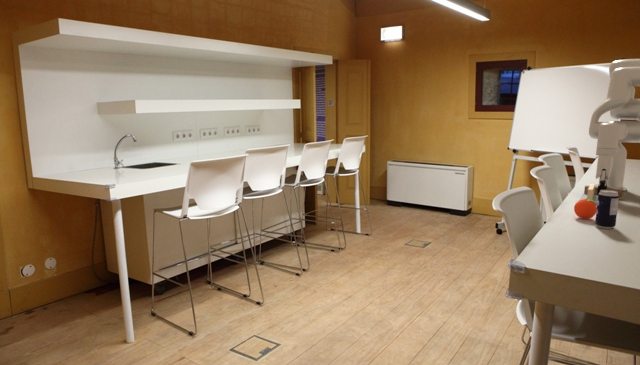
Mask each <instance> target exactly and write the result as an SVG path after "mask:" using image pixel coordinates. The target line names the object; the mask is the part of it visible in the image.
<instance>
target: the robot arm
mask: <svg viewBox="0 0 640 365" xmlns="http://www.w3.org/2000/svg"><path fill="white" fill-rule="evenodd" d="M608 70H609V71H608V74H609V83H608V84H609V85H608V89H607V94H606V100H604V101H603V102H602V103H600V104H599V105H598V106H597V107H596V109H595V110H594V111H593V113H592V115H591V118H590V123H589V127H588V135H589V137H590V138H591V139H596V140H597V142H596V151H595V152H596V153H595V156H597V164H596V173H595V179H596V180H597V179H599V180H598V183H597V184H596V183H595V186H597V187H598V190H597V195H598V194H599V193H600V190H606V189H607V187H610V188H622V189H623V192H624V191H626V190H627V189H628V187H627V186H625V185H624V183H625V182H624V180H625V172H626V164H627V157H628V156H627V155H628V151H627V149H626V147H625V146H624V145H623V144H622V143H636V144H637V143H638V144H640V98H635V94H636V88H635V87H640V58H626V59H618V60H614V61H612V62H611V63H610V65H609V68H608ZM608 112H609V114H610V117H611V118H612V119H615V120H611V121H599V120H600V118H601V117H602V116H603V115H604V114H606V113H608ZM629 120H631V121H629Z"/></svg>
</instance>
